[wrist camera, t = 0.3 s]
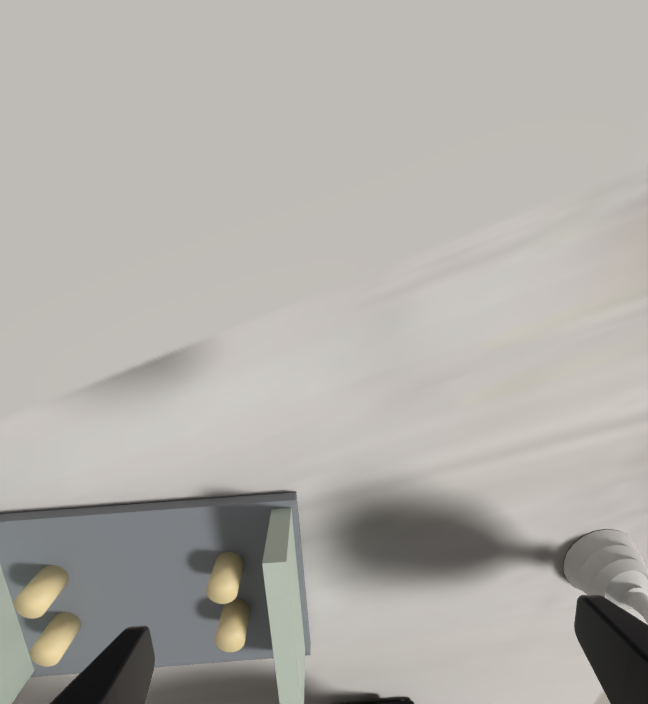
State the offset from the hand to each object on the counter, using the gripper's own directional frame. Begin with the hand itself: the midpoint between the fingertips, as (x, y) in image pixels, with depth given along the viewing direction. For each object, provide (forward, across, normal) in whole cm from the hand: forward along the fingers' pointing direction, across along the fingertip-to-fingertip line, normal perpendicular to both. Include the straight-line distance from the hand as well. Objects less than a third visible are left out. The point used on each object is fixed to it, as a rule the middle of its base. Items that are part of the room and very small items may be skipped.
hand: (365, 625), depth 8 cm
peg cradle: (+14, +12, +12) cm, 23 cm away
